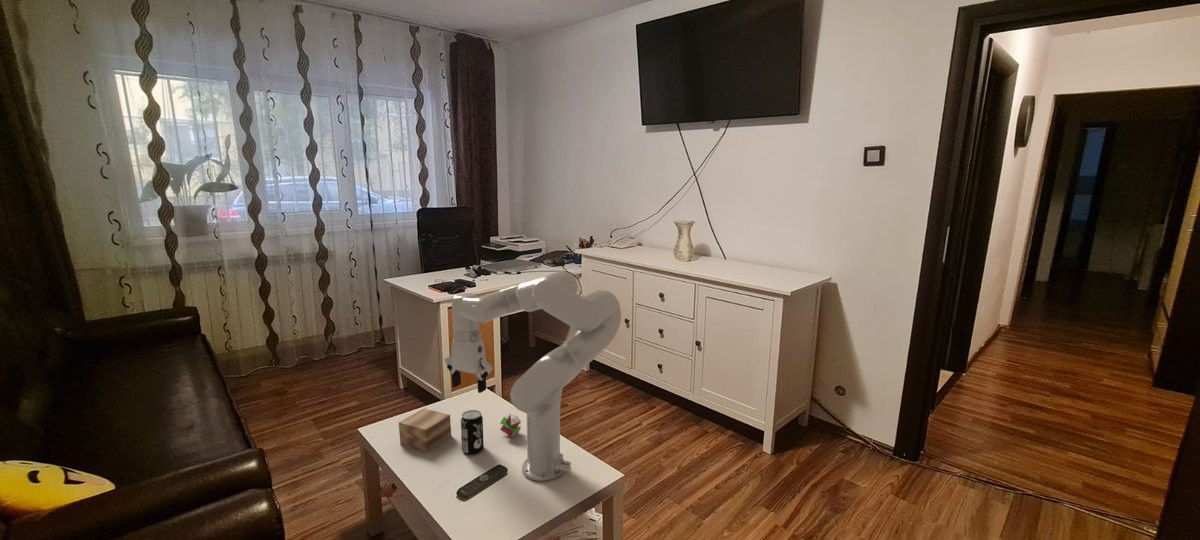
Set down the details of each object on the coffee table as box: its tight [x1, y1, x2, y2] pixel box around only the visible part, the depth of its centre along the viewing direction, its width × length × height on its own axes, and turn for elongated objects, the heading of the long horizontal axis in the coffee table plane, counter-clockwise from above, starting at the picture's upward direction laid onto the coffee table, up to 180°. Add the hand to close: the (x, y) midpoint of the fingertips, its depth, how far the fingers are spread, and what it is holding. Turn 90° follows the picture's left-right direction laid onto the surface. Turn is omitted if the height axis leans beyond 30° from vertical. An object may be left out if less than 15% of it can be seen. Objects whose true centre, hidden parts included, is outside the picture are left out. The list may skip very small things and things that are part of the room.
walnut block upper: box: [398, 407, 452, 442], centre depth 162 cm, size 11×11×4 cm
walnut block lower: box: [399, 426, 452, 454], centre depth 163 cm, size 11×11×4 cm
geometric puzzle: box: [499, 413, 522, 436], centre depth 166 cm, size 7×7×8 cm
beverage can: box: [460, 409, 484, 456], centre depth 157 cm, size 7×7×12 cm
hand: (469, 388), depth 155 cm, fingers open, 9 cm apart
